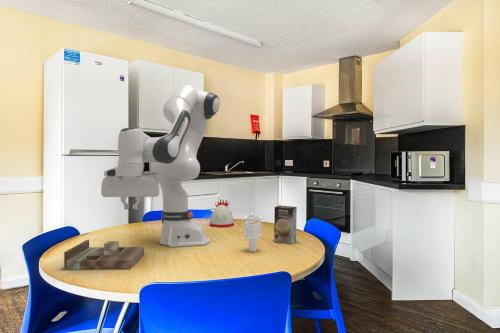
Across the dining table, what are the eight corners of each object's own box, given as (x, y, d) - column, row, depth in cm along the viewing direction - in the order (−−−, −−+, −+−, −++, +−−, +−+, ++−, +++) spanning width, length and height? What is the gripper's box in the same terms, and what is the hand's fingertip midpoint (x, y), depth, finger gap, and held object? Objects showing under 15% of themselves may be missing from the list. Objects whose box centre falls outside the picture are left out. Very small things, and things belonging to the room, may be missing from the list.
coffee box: (273, 242, 155) (273, 206, 155) (278, 239, 161) (278, 205, 160) (292, 244, 151) (292, 208, 151) (296, 241, 157) (297, 206, 156)
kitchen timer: (233, 227, 188) (233, 200, 188) (208, 227, 188) (208, 200, 188) (234, 223, 202) (234, 198, 202) (211, 223, 202) (211, 197, 202)
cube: (118, 251, 126) (118, 241, 126) (115, 254, 122) (115, 243, 122) (107, 252, 126) (107, 241, 126) (103, 254, 122) (103, 243, 122)
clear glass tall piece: (259, 248, 144) (259, 212, 144) (262, 252, 137) (262, 215, 137) (242, 248, 143) (243, 213, 142) (245, 253, 136) (245, 215, 136)
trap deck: (144, 254, 133) (144, 239, 133) (130, 269, 115) (130, 251, 115) (86, 255, 132) (86, 239, 132) (64, 270, 114) (64, 252, 114)
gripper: (161, 171, 127) (161, 207, 128) (105, 171, 126) (105, 208, 126) (157, 171, 121) (157, 210, 121) (99, 171, 120) (99, 210, 120)
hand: (130, 209), depth 124 cm, fingers closed
